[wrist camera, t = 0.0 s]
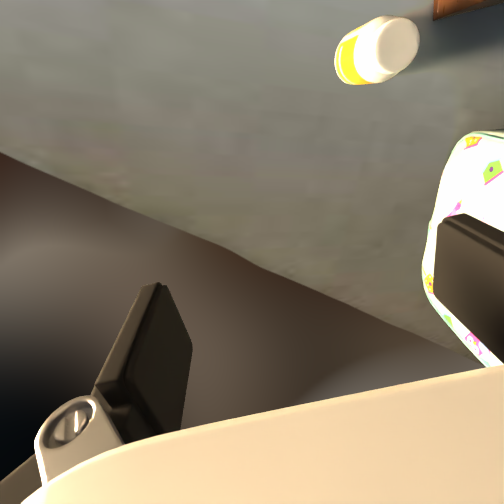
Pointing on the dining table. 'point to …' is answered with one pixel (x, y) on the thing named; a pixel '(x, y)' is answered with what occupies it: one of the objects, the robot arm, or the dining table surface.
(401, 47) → the supplement bottle
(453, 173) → the lunch box
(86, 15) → the dining table surface
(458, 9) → the chest
